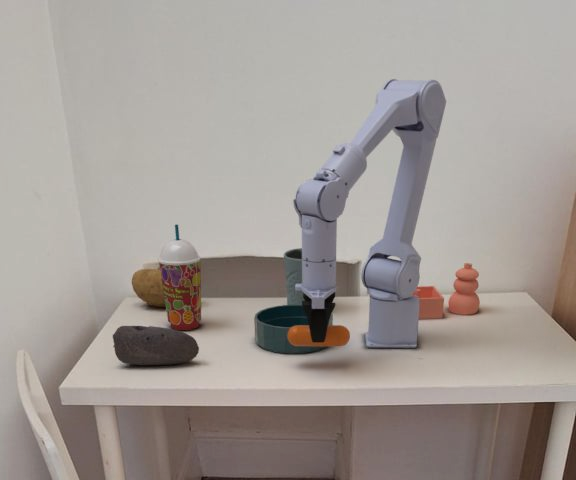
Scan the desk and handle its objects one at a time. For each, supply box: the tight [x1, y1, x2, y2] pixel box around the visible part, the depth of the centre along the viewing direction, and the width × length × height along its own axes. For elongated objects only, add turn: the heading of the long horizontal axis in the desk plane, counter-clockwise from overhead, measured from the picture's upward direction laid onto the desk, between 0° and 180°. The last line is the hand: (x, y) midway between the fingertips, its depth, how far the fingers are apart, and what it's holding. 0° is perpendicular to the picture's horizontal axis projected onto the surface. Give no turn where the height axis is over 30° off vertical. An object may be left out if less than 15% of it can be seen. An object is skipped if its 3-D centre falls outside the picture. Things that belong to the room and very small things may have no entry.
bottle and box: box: [412, 262, 481, 320], centre depth 159 cm, size 18×10×10 cm, turn 93°
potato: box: [131, 268, 166, 308], centre depth 166 cm, size 10×14×8 cm
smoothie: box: [157, 224, 202, 331], centre depth 150 cm, size 8×8×20 cm
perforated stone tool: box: [112, 325, 200, 366], centre depth 134 cm, size 15×5×7 cm, turn 88°
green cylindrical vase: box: [283, 247, 305, 305], centre depth 161 cm, size 10×10×12 cm
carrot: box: [287, 324, 351, 347], centre depth 131 cm, size 11×4×4 cm, turn 87°
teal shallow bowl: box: [253, 304, 334, 355], centre depth 145 cm, size 15×15×5 cm
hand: (318, 337), depth 132 cm, fingers closed on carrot, 3 cm apart
